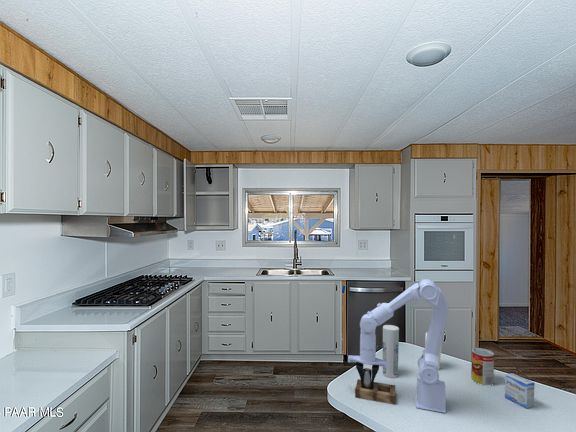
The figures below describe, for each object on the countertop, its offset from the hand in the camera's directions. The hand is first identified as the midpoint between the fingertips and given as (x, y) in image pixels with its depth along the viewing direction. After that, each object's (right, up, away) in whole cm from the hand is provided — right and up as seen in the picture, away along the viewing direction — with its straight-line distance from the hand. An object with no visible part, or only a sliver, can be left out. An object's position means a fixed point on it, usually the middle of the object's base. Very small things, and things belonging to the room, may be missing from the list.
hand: (367, 383), depth 125 cm
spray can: (+13, -4, +16) cm, 21 cm away
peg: (0, -4, 0) cm, 4 cm away
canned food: (+50, -5, +11) cm, 51 cm away
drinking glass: (+35, -5, +22) cm, 41 cm away
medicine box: (+54, -5, -4) cm, 55 cm away
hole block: (+3, -4, -1) cm, 5 cm away
